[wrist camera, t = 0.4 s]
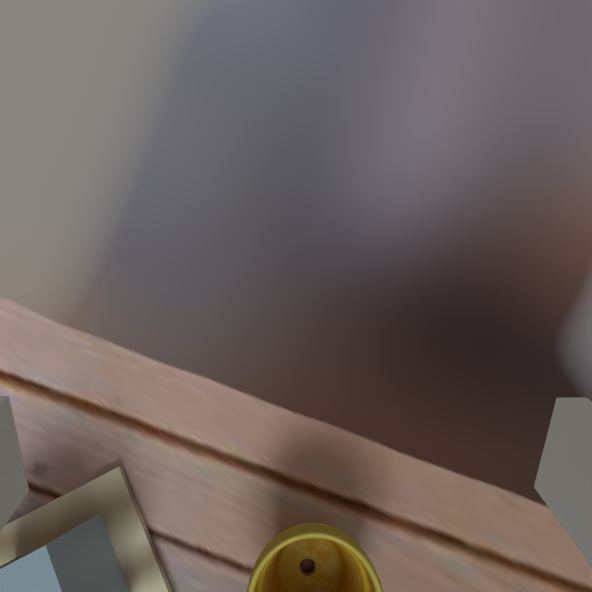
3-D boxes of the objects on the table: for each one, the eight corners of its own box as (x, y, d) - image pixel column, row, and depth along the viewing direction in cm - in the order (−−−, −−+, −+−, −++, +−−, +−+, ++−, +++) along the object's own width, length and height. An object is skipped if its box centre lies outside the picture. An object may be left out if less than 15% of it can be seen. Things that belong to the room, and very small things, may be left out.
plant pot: (233, 596, 41) (219, 652, 32) (280, 486, 44) (281, 507, 34) (337, 648, 41) (354, 722, 31) (379, 533, 43) (407, 569, 34)
